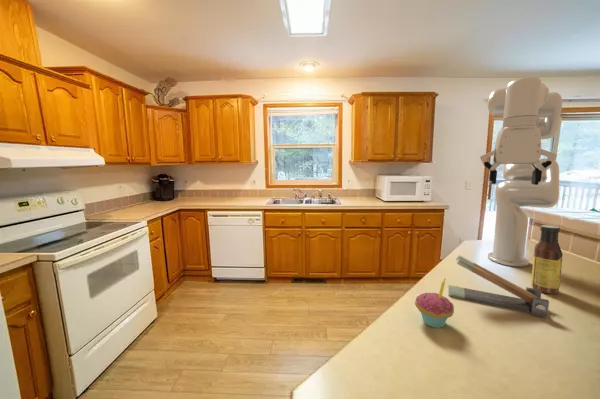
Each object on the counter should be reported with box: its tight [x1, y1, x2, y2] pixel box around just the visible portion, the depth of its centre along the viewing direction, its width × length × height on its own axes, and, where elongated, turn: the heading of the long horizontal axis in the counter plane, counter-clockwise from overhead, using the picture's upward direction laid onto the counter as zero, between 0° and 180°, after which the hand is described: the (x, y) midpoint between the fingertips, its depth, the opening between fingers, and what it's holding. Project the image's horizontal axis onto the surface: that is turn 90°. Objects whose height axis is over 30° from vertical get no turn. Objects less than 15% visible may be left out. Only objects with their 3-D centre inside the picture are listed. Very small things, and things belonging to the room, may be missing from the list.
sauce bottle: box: [530, 224, 564, 295], centre depth 76 cm, size 6×6×20 cm
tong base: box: [447, 284, 550, 319], centre depth 72 cm, size 8×22×4 cm, turn 60°
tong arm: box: [455, 254, 537, 304], centre depth 71 cm, size 4×20×2 cm, turn 60°
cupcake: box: [414, 278, 455, 329], centre depth 63 cm, size 9×8×12 cm
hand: (513, 184), depth 75 cm, fingers open, 9 cm apart
